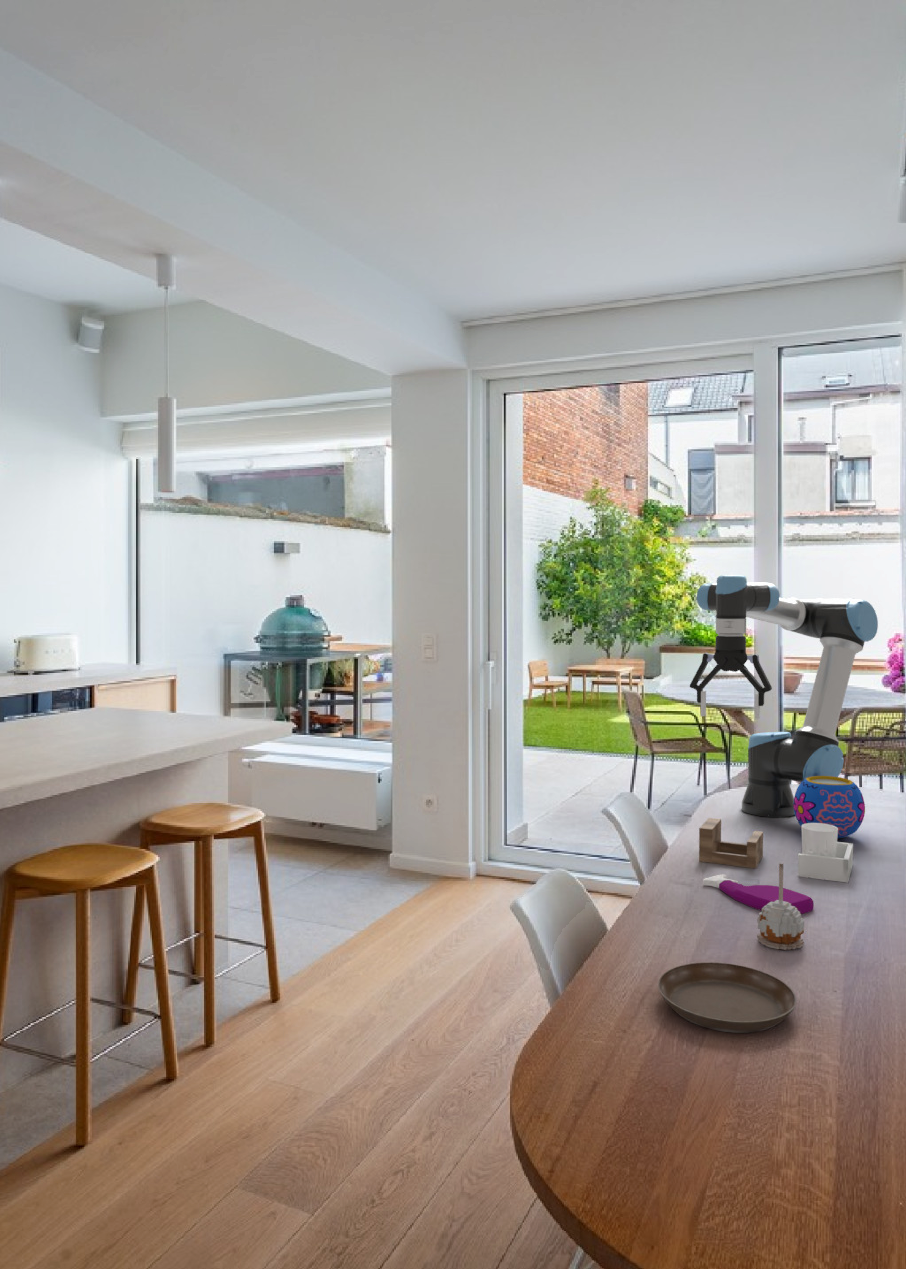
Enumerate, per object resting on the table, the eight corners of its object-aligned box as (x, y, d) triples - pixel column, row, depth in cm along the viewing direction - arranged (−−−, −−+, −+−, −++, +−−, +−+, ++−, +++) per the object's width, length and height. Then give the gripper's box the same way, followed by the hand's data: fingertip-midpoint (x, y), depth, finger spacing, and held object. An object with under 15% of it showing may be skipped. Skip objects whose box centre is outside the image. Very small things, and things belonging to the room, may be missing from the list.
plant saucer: (808, 1046, 135) (808, 1023, 135) (660, 1035, 138) (661, 1013, 138) (783, 986, 155) (783, 966, 155) (655, 977, 159) (655, 958, 158)
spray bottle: (783, 921, 185) (691, 889, 206) (819, 911, 191) (726, 881, 212) (783, 906, 185) (691, 876, 206) (819, 897, 191) (727, 868, 212)
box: (805, 858, 226) (805, 838, 226) (852, 864, 221) (853, 843, 221) (797, 876, 213) (798, 854, 213) (848, 882, 208) (848, 860, 208)
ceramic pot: (851, 828, 254) (852, 773, 253) (874, 846, 237) (875, 787, 236) (785, 827, 256) (785, 772, 255) (802, 845, 238) (803, 786, 238)
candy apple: (767, 933, 178) (768, 855, 177) (808, 943, 173) (810, 862, 172) (751, 945, 172) (752, 864, 171) (793, 956, 167) (795, 872, 166)
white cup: (831, 877, 212) (832, 833, 212) (795, 870, 217) (796, 827, 216) (841, 868, 218) (842, 826, 218) (807, 862, 223) (807, 821, 223)
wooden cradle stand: (708, 849, 235) (708, 817, 234) (762, 856, 229) (763, 823, 228) (699, 861, 225) (699, 828, 224) (755, 868, 219) (755, 834, 218)
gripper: (678, 634, 244) (678, 716, 246) (779, 636, 233) (778, 721, 234) (685, 633, 251) (684, 712, 252) (783, 635, 240) (782, 718, 241)
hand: (729, 717), depth 243 cm, fingers open, 13 cm apart
